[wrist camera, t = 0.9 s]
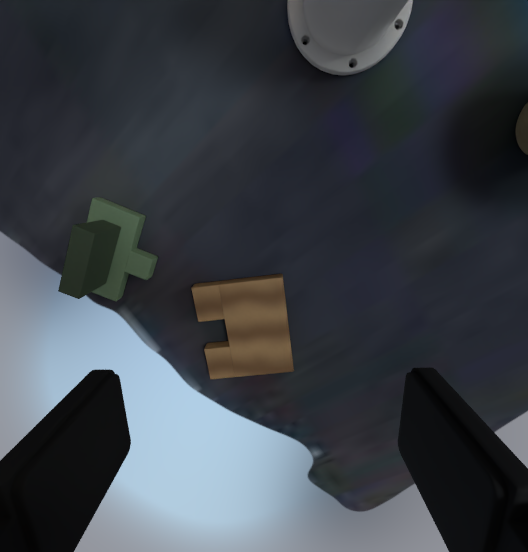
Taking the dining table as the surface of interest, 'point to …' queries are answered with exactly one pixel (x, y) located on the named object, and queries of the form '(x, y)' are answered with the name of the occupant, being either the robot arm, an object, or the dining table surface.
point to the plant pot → (522, 129)
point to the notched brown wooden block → (246, 325)
